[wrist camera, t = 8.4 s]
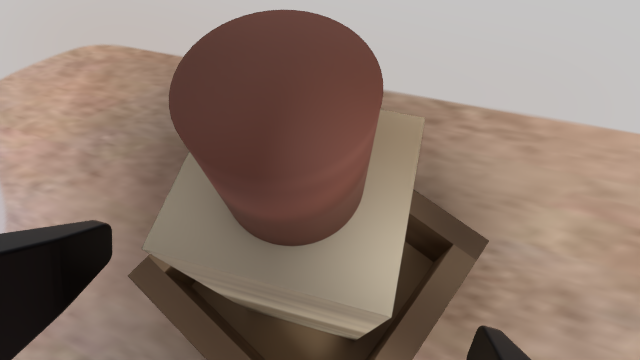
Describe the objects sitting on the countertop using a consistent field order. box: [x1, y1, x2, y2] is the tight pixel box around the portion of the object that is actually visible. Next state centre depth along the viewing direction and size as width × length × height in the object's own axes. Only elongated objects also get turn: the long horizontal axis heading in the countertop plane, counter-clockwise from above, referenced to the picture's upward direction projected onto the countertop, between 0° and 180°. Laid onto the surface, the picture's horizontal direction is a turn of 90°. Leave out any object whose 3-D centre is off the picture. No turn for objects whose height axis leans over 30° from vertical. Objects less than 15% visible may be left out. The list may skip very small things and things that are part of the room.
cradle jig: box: [128, 190, 489, 360], centre depth 16 cm, size 10×10×4 cm
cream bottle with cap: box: [142, 10, 425, 341], centre depth 11 cm, size 4×5×13 cm
